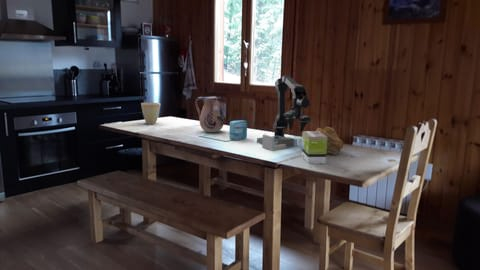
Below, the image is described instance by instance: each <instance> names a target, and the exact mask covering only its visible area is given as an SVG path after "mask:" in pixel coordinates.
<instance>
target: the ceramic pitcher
mask: <svg viewBox="0 0 480 270" xmlns="http://www.w3.org/2000/svg"><path fill="white" fill-rule="evenodd" d="M200 100H202V102H203V106H202V109H201V110H200V108H199V104H198V101H200ZM194 101H195V108H196V111H197V113H198V120H199V125H200V128H201V129H202V130H203V131H204V132H206V133H218V132H219V131H221V130H222V129H223V127H224V124H225V119H224V118H225V117H224V113H223V110H222V105H221V101H222V98H221V97H218V96H199V97H197V98H196V99H195V100H194Z"/></svg>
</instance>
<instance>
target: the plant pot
mask: <svg viewBox="0 0 480 270" xmlns="http://www.w3.org/2000/svg"><path fill="white" fill-rule="evenodd" d="M160 109H161V103H159V102H141V110H142V115H143V119H144V121H145V123H146V125H147V124H148V125H156V124H157V121H158V117H159V114H160Z"/></svg>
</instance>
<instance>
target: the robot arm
mask: <svg viewBox="0 0 480 270" xmlns="http://www.w3.org/2000/svg"><path fill="white" fill-rule="evenodd" d="M274 86H275V91H276V92H277V115H276V116H275V120H274V123H273V124H272V128H273V130H274V135H273V136H281V137H285V138H287V136H285V134H286V133H285V131H286V130H287V129H288V127H289V129H290V131H291V130H293V126H294V124H295V123H294V122H295V120H296V119H297V120H299V121H298V122H299V125H300V126H299V132H301V133H303V131H304V130H305V128H306V127H307V124H308V123H309V122H311V121H312V120H311V117H310V116H308V115H304V114H302V113H303V110H304V109H307V108H308V107H309V106H310V103H311V102H310V100H309V99H308V94H307V91H306V88H305V86H304V85H302V84H298V83H297V82H296V81H295V80H294V79H293V78H292V76H291V75H283V76H282V77H280V78H277V79H276V80H275V81H274ZM288 88H290V89H291V90H290V92H291V93H292V97H291V98H292V107H291V108H290V110H289V111H286V92H287V90H288Z"/></svg>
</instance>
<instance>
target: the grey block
mask: <svg viewBox="0 0 480 270" xmlns="http://www.w3.org/2000/svg"><path fill="white" fill-rule="evenodd" d="M272 136H273V135H267V134H262V137H263V143H262V144H261V146H262V148H263V149H265V150H270V151H272V152H273V151H276V150H282V149H286V148H287V147H286V144H280V145H278V142H274V137H272Z"/></svg>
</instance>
